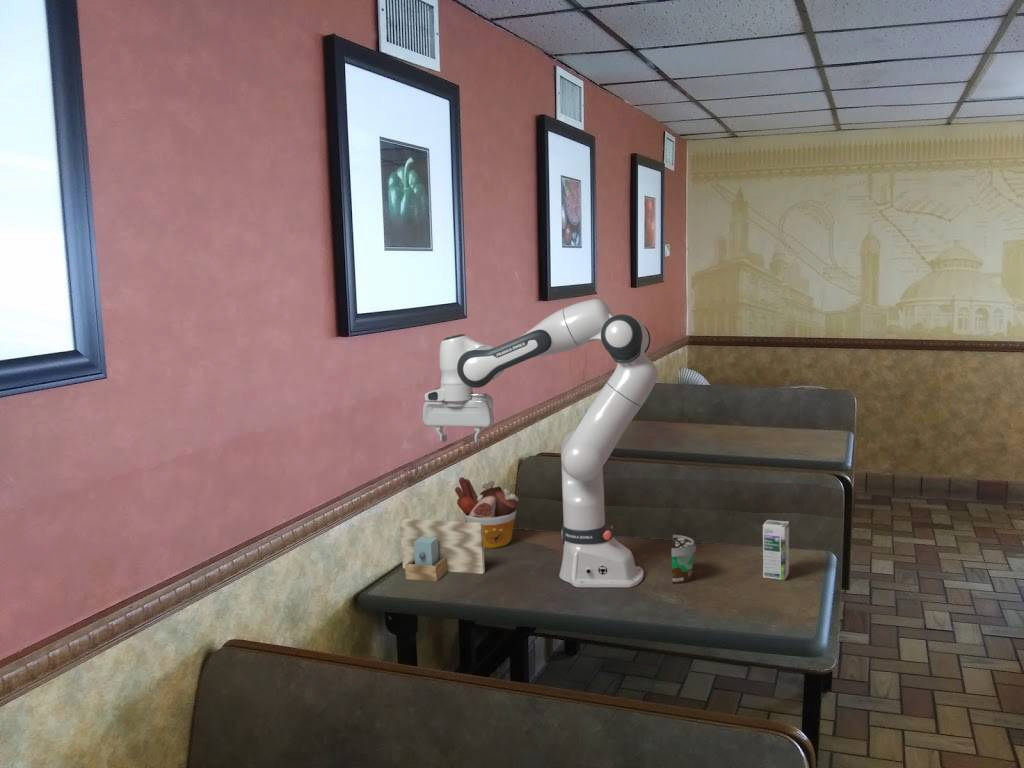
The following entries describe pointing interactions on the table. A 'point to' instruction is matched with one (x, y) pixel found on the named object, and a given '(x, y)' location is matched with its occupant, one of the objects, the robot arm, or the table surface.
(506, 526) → the bucket of meat
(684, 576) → the food container
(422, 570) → the cleat board
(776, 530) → the syrup box
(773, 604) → the table surface
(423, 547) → the cabinet block
